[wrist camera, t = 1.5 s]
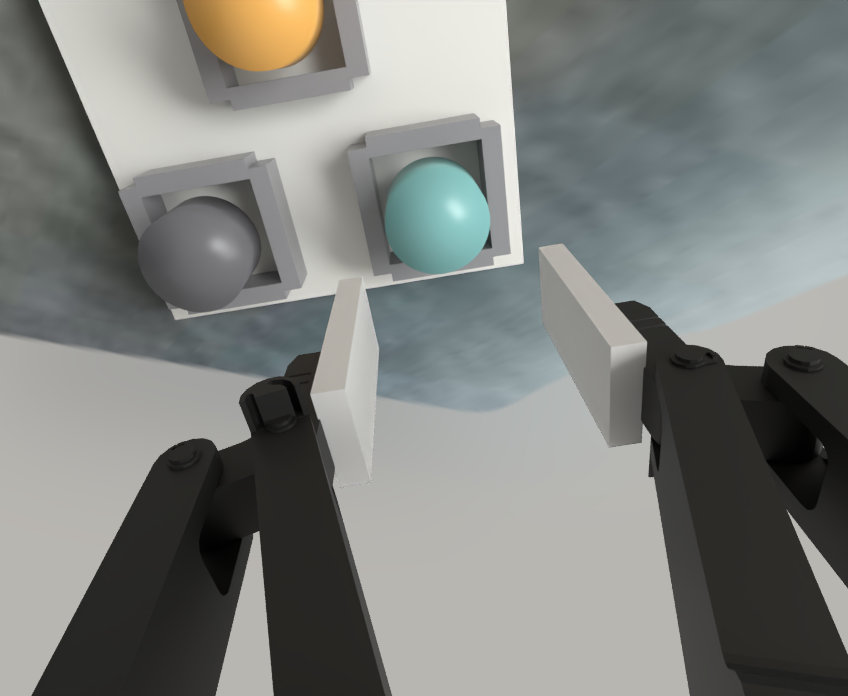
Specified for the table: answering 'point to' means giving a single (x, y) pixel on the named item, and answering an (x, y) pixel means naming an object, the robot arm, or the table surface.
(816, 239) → the table surface
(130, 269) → the table surface
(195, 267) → the charcoal button
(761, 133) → the table surface
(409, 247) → the teal button
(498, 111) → the panel
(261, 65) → the orange button
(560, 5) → the table surface
